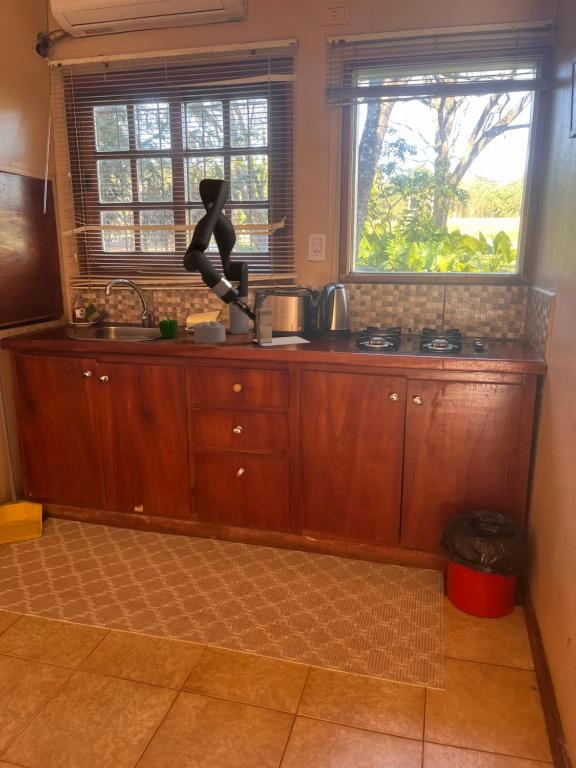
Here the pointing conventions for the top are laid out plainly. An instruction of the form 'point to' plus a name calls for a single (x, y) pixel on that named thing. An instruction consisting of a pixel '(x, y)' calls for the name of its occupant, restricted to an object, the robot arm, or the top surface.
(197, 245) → the robot arm
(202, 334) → the lumpy-topped squat cylinder
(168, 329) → the bell pepper
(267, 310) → the maple block
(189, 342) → the top surface
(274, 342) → the grey mat
